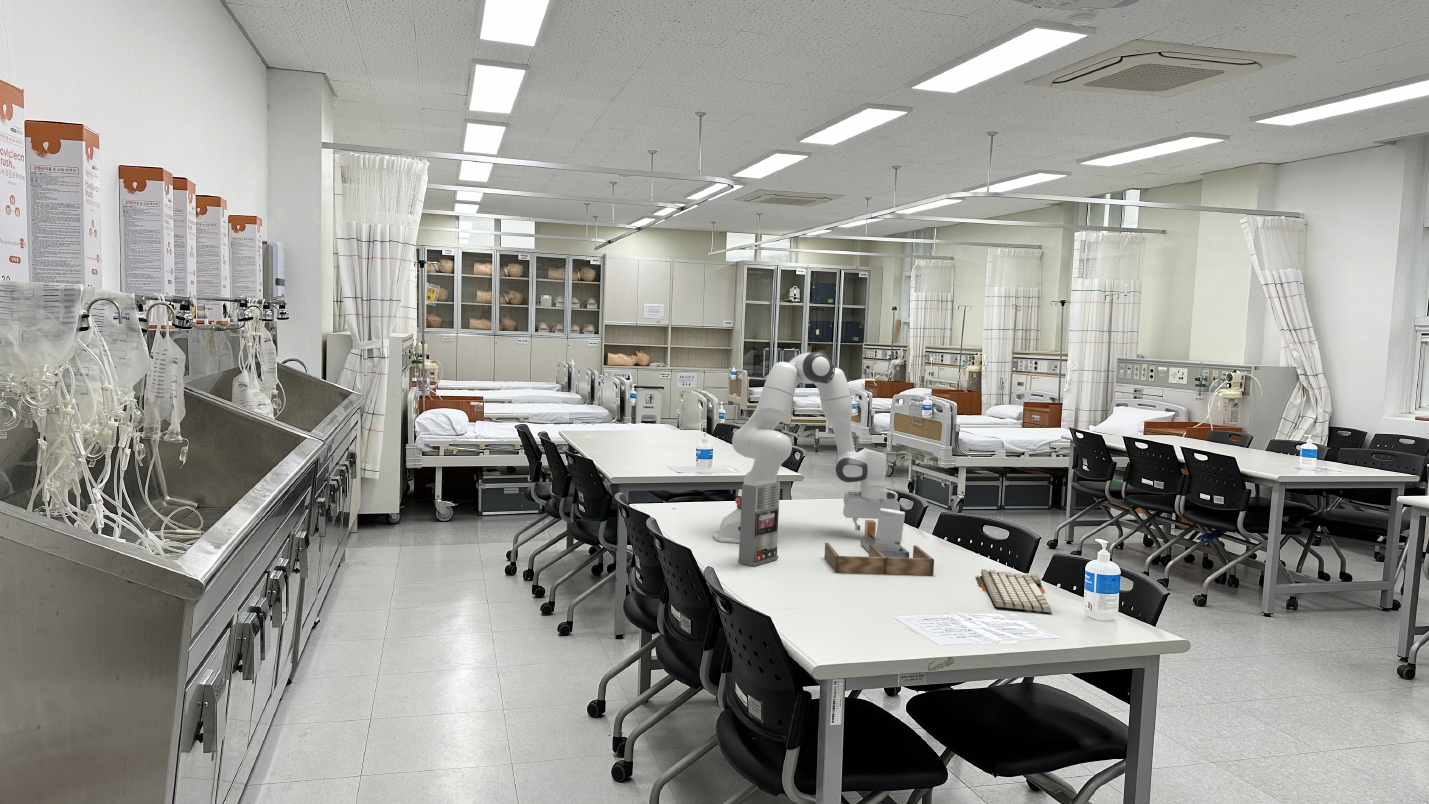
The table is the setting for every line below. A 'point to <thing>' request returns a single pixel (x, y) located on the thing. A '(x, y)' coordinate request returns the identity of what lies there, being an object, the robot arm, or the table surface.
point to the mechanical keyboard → (1014, 591)
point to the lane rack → (881, 562)
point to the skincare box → (889, 530)
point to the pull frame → (870, 539)
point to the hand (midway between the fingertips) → (870, 530)
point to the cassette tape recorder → (759, 522)
